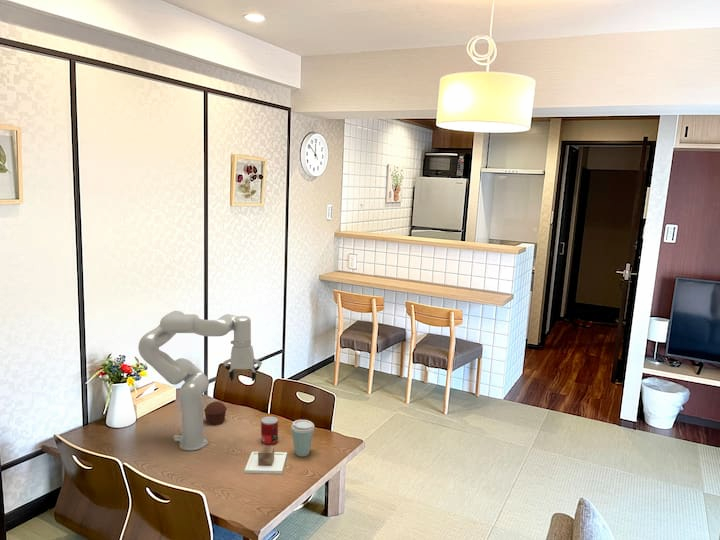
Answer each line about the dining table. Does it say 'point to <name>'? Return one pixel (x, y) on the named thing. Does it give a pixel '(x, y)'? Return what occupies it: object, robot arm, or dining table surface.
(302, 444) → the disposable coffee cup
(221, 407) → the muffin
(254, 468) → the plate
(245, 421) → the dining table surface
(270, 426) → the canned food
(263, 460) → the cube
